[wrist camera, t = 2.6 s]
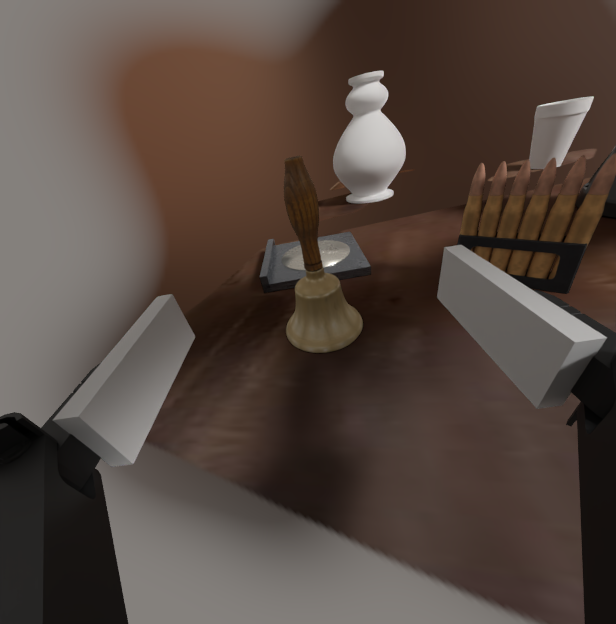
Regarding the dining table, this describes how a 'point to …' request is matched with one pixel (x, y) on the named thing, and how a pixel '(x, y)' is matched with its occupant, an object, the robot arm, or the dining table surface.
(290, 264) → the plate
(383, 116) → the decorative vase
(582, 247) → the ammunition clip
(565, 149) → the foam cup
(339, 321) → the hand bell
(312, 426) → the dining table surface
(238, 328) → the dining table surface
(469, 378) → the dining table surface
